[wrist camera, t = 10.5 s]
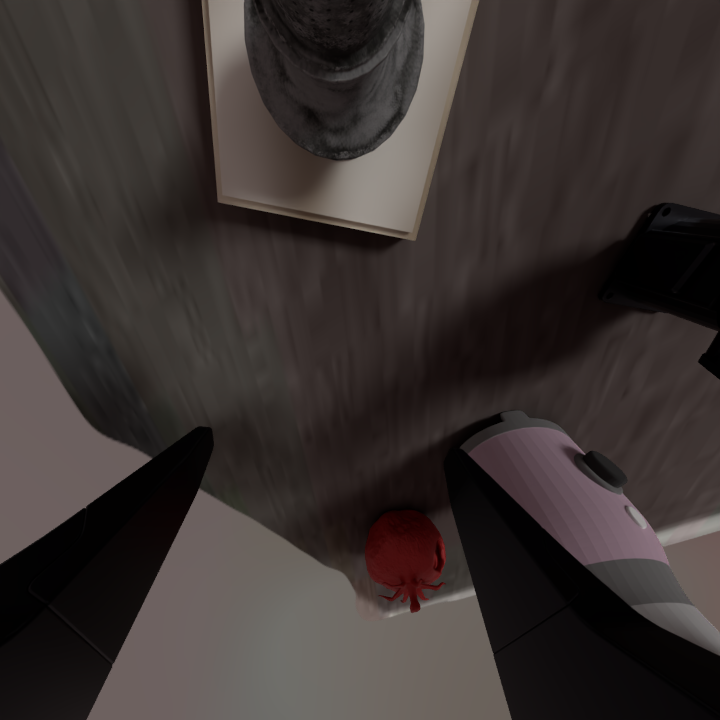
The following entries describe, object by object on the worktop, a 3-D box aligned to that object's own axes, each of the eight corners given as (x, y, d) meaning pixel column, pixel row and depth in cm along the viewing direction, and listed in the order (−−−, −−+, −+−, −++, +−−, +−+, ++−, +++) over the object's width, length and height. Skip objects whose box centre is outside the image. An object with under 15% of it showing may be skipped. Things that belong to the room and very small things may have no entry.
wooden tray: (474, -30, 12) (503, -80, 10) (408, 236, 17) (417, 241, 15) (213, -122, 10) (180, -203, 8) (232, 201, 16) (215, 202, 14)
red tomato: (355, 536, 38) (356, 626, 30) (376, 496, 33) (383, 592, 25) (420, 543, 40) (437, 630, 32) (449, 506, 34) (478, 599, 27)
